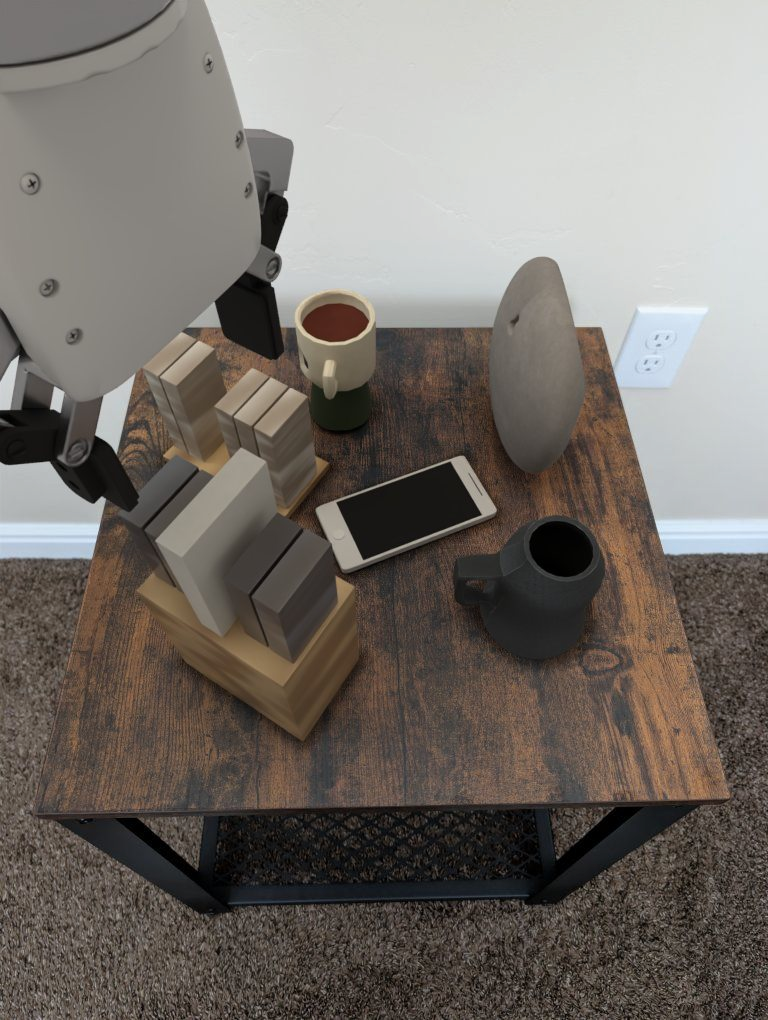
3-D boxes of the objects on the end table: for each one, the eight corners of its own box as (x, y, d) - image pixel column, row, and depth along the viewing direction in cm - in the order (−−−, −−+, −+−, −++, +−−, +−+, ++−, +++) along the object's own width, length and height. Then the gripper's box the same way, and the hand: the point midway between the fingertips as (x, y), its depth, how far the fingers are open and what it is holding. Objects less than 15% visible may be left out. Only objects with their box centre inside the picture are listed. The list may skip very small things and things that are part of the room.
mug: (575, 560, 63) (611, 493, 54) (594, 658, 59) (637, 603, 49) (443, 563, 63) (454, 496, 53) (451, 661, 58) (465, 607, 49)
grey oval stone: (567, 510, 66) (629, 373, 50) (493, 513, 66) (530, 376, 50) (535, 364, 76) (577, 210, 60) (469, 366, 76) (495, 212, 60)
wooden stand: (185, 662, 58) (94, 530, 39) (245, 588, 62) (188, 434, 43) (303, 741, 55) (265, 639, 36) (359, 658, 58) (351, 525, 40)
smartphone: (315, 512, 66) (314, 506, 65) (462, 459, 69) (463, 453, 68) (343, 575, 62) (343, 570, 61) (497, 516, 66) (498, 511, 65)
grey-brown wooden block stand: (165, 461, 69) (128, 378, 58) (217, 408, 72) (191, 320, 62) (280, 528, 65) (262, 451, 55) (329, 468, 68) (321, 385, 58)
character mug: (315, 369, 75) (304, 270, 64) (381, 374, 75) (382, 276, 64) (298, 451, 69) (283, 358, 58) (369, 457, 69) (368, 365, 58)
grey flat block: (200, 623, 45) (154, 540, 36) (267, 542, 48) (240, 446, 39) (222, 638, 44) (181, 557, 35) (288, 555, 48) (267, 461, 38)
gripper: (144, -190, 21) (241, 271, 36) (-471, 62, 14) (-28, 517, 28) (351, -141, 19) (365, 327, 34) (-237, 190, 11) (110, 610, 26)
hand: (186, 413), depth 31 cm, fingers open, 9 cm apart
